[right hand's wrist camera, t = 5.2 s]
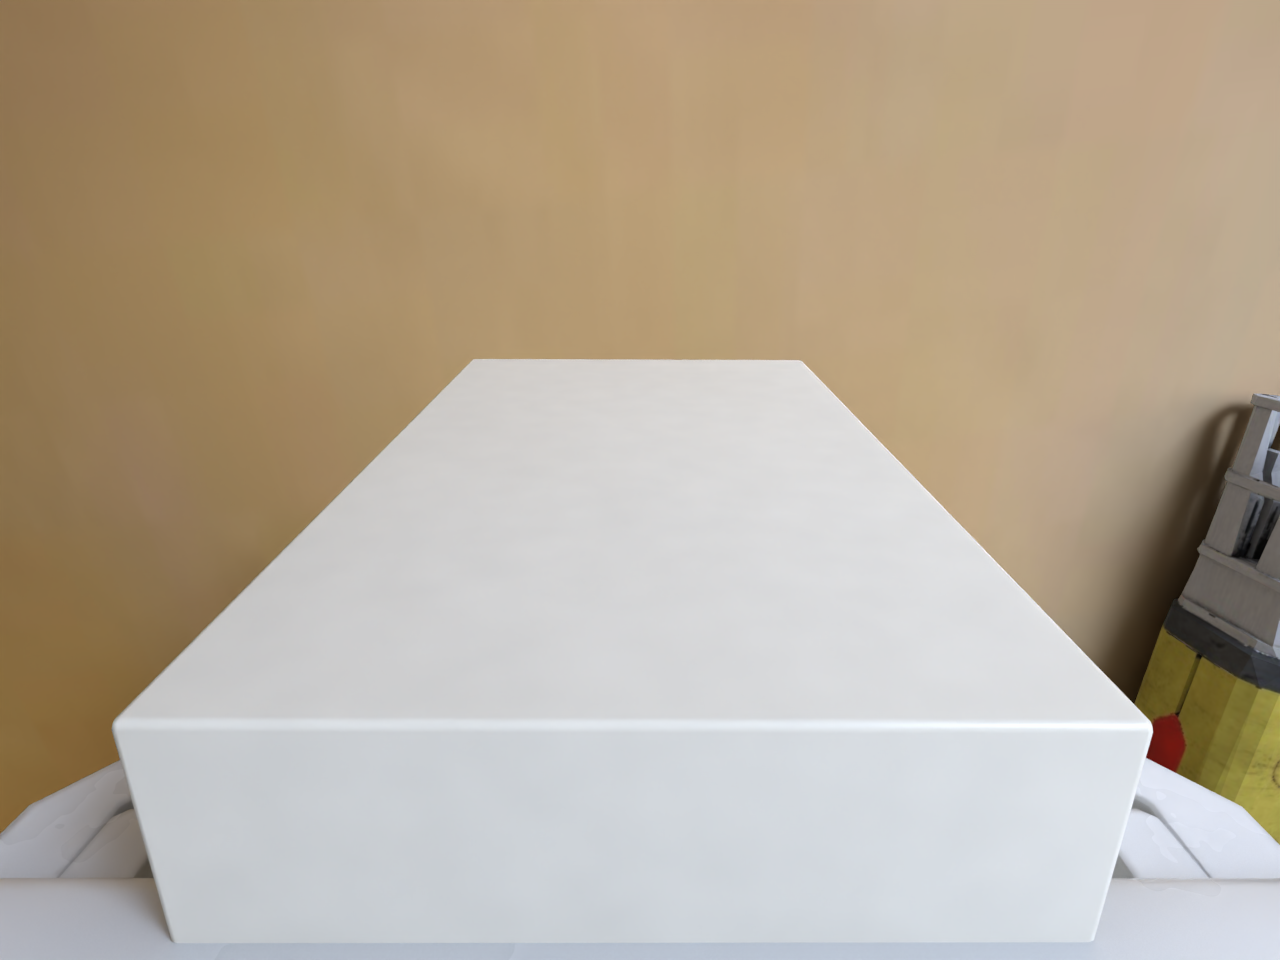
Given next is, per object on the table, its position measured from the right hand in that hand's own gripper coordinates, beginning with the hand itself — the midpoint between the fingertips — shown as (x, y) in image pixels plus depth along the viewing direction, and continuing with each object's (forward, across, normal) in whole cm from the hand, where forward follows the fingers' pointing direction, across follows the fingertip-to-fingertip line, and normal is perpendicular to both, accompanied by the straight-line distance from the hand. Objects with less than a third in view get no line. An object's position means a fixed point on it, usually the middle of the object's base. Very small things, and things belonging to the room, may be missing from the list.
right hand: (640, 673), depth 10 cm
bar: (+4, 0, -9) cm, 10 cm away
